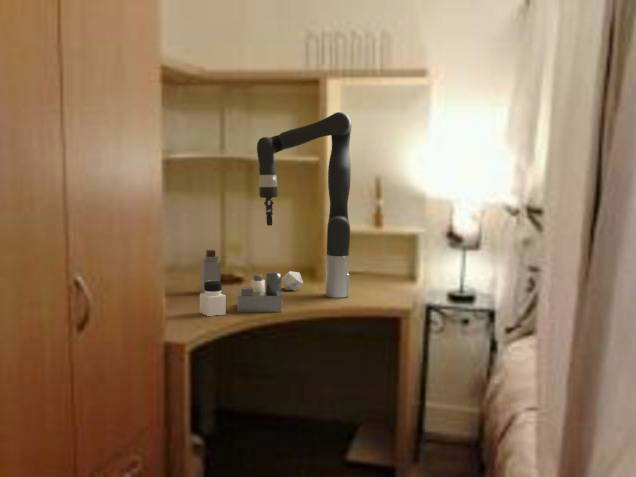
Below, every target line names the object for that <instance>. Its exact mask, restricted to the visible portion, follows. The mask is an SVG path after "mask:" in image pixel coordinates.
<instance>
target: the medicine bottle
mask: <svg viewBox="0 0 636 477" xmlns="http://www.w3.org/2000/svg"><path fill="white" fill-rule="evenodd" d="M204 292H205V293H200V294H199V313H200V314H201V313H202V315H203V314H204V316H205V315H207V316H206V317H208V316H211V317H215V316H214V315H219V316H225V315H226V314H227V312H226V311H227V295H225V294H223V293H222V282H221V280H220V281H217V280H209V281H206V282H205V283H204Z"/></svg>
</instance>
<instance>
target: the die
mask: <svg viewBox="0 0 636 477" xmlns="http://www.w3.org/2000/svg"><path fill="white" fill-rule="evenodd" d="M281 282H282V283H283V286H284V289H285V290H286V291H291V290H292V292H296V291H297V290H299V289H300V288H301V286H303V285H304V281H303V278H302V276H301V273H300V272H299V271H298V272H297V271H291V270H289V271H288V272H287V273H286V274H285V275H284V276H283V277H281Z"/></svg>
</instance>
